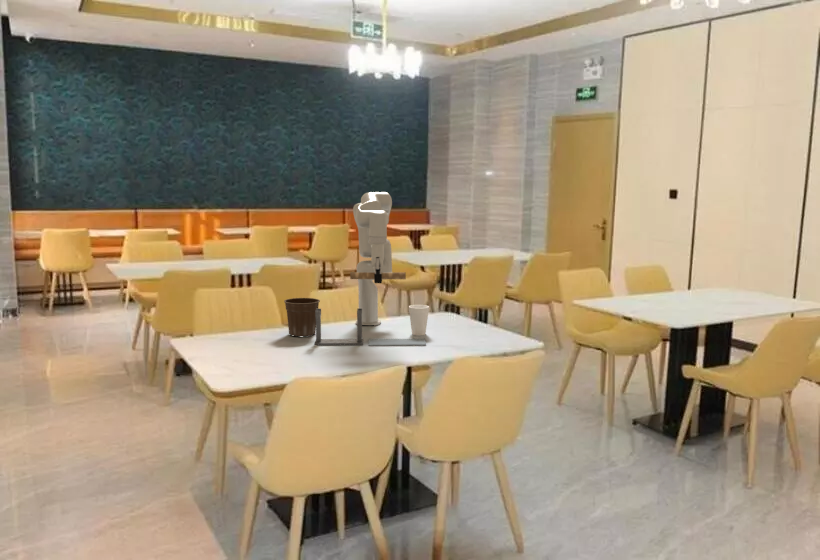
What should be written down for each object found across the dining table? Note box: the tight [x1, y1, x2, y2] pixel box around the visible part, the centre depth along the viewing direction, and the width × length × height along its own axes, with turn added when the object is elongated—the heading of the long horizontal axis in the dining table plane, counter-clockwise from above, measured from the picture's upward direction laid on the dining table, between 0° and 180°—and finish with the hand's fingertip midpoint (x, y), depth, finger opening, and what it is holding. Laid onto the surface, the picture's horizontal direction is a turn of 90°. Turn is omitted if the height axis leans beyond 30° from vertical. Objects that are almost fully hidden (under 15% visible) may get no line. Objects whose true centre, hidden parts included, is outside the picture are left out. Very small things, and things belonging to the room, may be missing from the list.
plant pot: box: [284, 297, 321, 337], centre depth 330 cm, size 16×16×16 cm
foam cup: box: [408, 304, 430, 336], centre depth 333 cm, size 10×9×13 cm
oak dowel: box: [349, 271, 407, 280], centre depth 311 cm, size 24×3×3 cm, turn 91°
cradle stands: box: [314, 307, 364, 346], centre depth 313 cm, size 8×21×15 cm, turn 92°
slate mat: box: [368, 338, 427, 347], centre depth 315 cm, size 11×25×1 cm, turn 92°
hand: (378, 282), depth 311 cm, fingers closed on oak dowel, 3 cm apart
